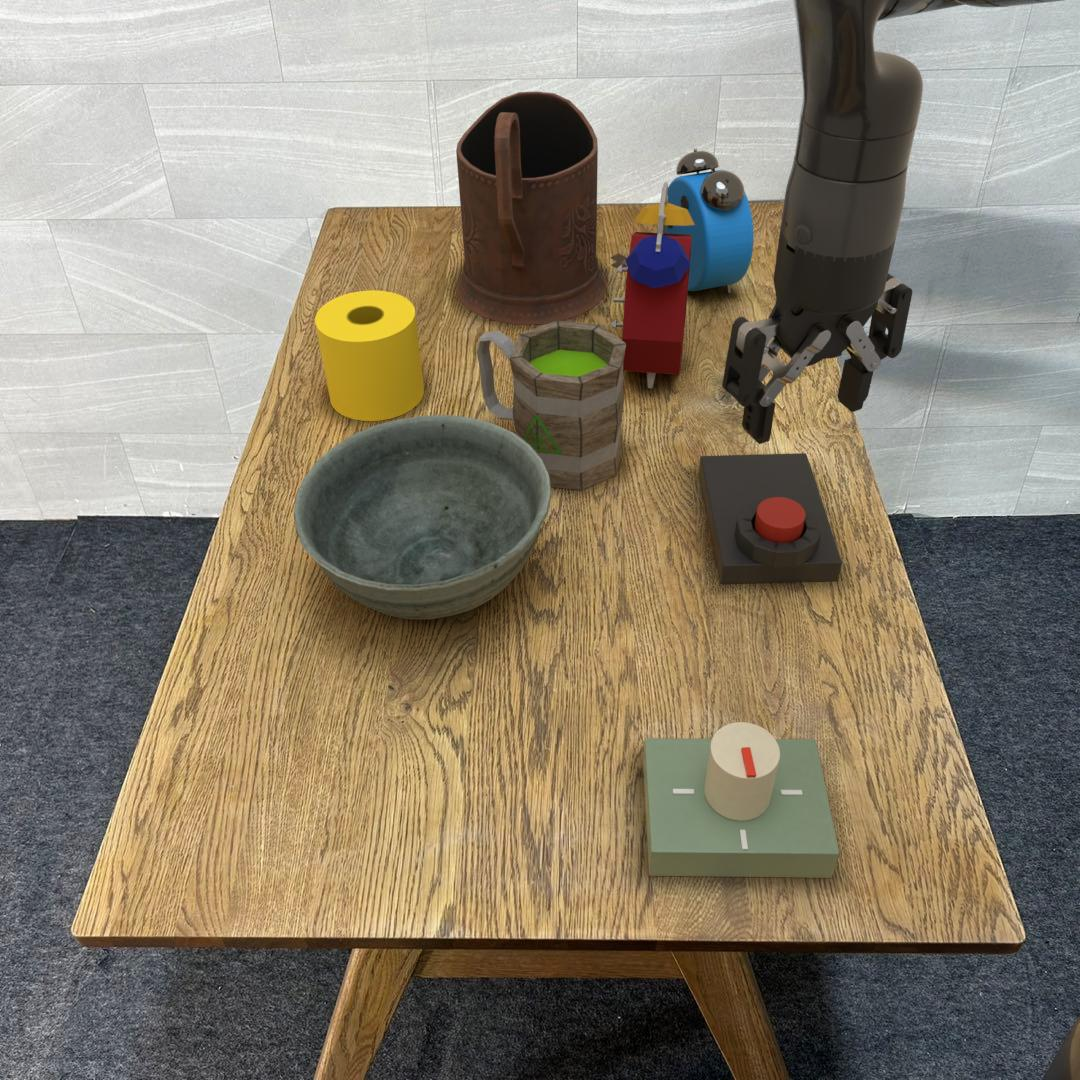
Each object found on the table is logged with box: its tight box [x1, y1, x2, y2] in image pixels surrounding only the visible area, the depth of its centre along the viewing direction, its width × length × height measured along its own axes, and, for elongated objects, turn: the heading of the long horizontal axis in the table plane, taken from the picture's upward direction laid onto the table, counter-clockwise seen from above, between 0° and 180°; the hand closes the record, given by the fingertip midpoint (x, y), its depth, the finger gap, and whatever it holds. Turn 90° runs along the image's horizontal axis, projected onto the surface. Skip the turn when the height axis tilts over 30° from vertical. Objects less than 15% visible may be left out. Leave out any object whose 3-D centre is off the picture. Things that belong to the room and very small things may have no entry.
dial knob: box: [704, 721, 780, 821], centre depth 68 cm, size 4×4×5 cm
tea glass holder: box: [455, 91, 608, 325], centre depth 117 cm, size 18×24×25 cm
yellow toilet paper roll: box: [314, 289, 425, 422], centre depth 108 cm, size 10×10×9 cm
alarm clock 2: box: [605, 181, 695, 390], centre depth 108 cm, size 15×9×20 cm, turn 171°
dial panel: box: [642, 737, 840, 879], centre depth 71 cm, size 12×9×3 cm
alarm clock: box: [665, 148, 755, 294], centre depth 122 cm, size 13×6×15 cm, turn 18°
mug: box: [476, 320, 626, 491], centre depth 99 cm, size 16×11×12 cm
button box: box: [698, 452, 843, 585], centre depth 93 cm, size 15×10×4 cm, turn 1°
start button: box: [755, 497, 805, 543], centre depth 88 cm, size 4×4×2 cm
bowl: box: [293, 414, 552, 620], centre depth 87 cm, size 21×21×10 cm
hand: (803, 421), depth 80 cm, fingers open, 8 cm apart
